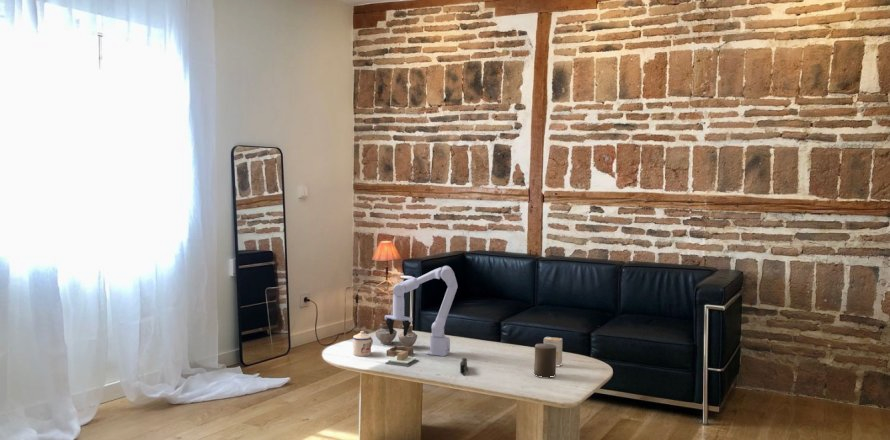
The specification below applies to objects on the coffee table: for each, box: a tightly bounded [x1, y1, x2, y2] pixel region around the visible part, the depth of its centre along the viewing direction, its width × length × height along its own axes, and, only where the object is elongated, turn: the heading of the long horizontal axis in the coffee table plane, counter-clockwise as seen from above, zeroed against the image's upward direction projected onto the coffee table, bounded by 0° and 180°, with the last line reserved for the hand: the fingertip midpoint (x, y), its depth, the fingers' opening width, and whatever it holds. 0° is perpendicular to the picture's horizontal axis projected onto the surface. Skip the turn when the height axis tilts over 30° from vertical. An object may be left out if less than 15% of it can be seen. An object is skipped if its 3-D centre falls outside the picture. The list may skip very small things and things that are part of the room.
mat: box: [385, 358, 420, 368], centre depth 357 cm, size 12×12×1 cm
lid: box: [387, 351, 417, 364], centre depth 357 cm, size 10×10×4 cm
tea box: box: [386, 345, 414, 358], centre depth 371 cm, size 10×10×3 cm
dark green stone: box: [459, 357, 468, 376], centre depth 343 cm, size 5×3×15 cm
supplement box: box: [543, 336, 563, 365], centre depth 355 cm, size 8×5×13 cm, turn 65°
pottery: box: [374, 321, 418, 349], centre depth 389 cm, size 11×25×12 cm, turn 56°
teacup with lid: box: [352, 330, 374, 357], centre depth 371 cm, size 12×9×12 cm
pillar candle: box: [533, 343, 557, 377], centre depth 338 cm, size 10×10×15 cm
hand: (398, 334), depth 373 cm, fingers open, 7 cm apart
